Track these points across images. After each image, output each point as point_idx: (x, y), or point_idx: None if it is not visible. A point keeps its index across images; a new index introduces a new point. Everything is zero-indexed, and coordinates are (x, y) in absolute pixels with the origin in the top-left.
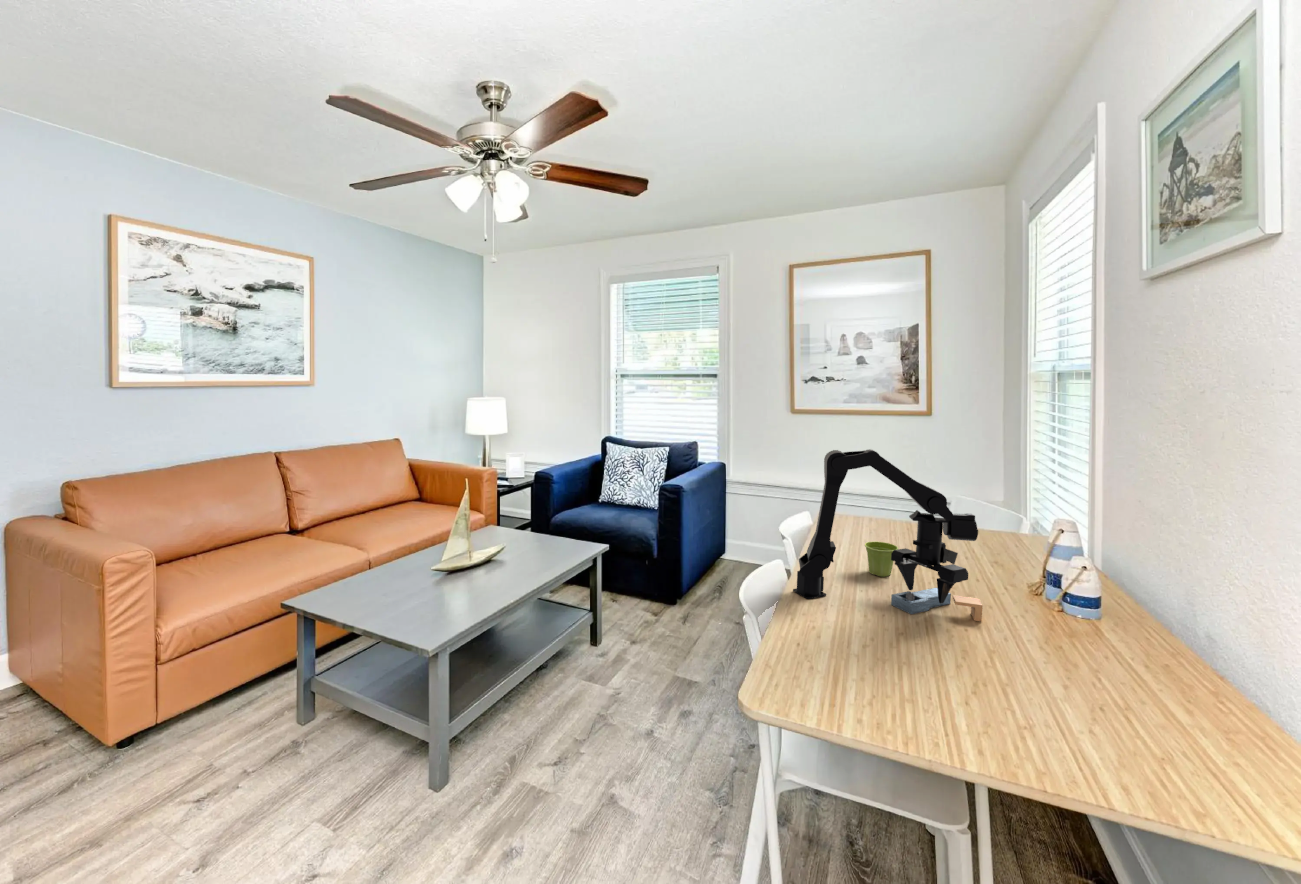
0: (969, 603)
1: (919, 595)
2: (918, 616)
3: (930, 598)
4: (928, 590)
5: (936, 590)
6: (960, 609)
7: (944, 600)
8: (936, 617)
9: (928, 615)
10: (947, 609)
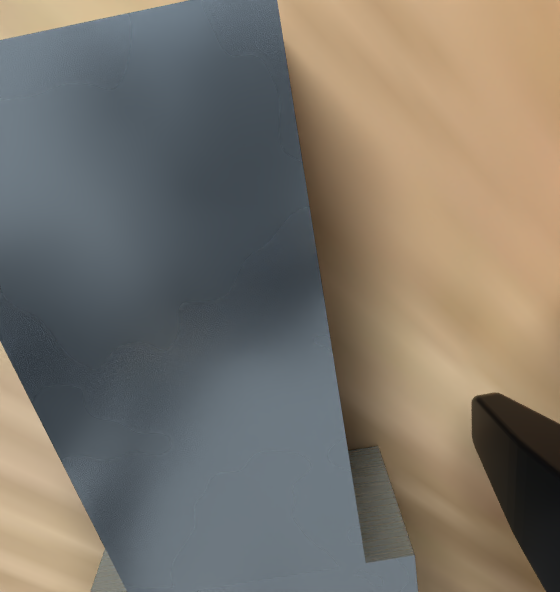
0: None
1: (253, 580)
2: (447, 581)
3: (352, 494)
4: (61, 355)
5: (66, 205)
6: (485, 34)
7: (526, 410)
8: None
9: (464, 508)
10: (419, 231)
